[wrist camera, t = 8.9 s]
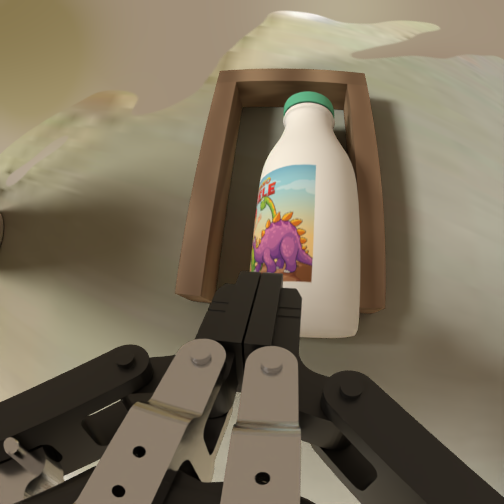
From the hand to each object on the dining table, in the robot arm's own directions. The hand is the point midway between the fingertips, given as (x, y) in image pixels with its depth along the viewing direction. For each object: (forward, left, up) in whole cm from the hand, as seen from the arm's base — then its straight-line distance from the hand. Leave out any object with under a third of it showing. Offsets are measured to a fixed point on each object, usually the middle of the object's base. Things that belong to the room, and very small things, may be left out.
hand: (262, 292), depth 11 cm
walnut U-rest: (0, +11, -14) cm, 18 cm away
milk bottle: (+2, -1, -10) cm, 10 cm away
